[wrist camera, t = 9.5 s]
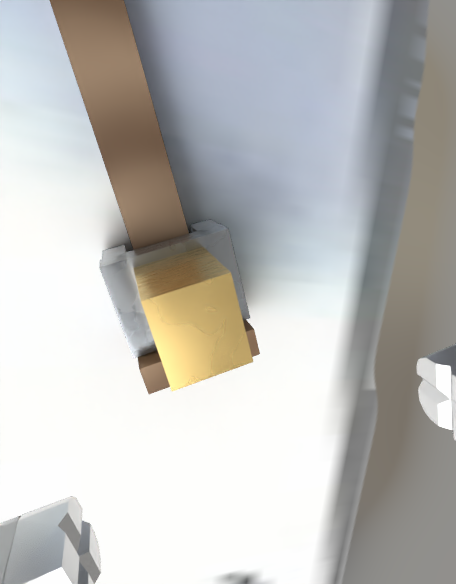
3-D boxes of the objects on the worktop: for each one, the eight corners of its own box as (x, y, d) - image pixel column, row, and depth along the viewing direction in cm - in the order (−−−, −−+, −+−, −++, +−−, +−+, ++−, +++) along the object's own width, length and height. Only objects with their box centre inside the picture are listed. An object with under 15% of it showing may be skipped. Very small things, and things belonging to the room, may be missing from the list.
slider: (100, 251, 22) (96, 301, 14) (211, 218, 23) (263, 248, 16) (130, 331, 24) (140, 414, 16) (231, 297, 25) (287, 360, 17)
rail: (-44, -161, 16) (-103, -284, 12) (104, -178, 17) (102, -298, 13) (141, 351, 25) (148, 394, 20) (233, 319, 26) (259, 353, 22)
